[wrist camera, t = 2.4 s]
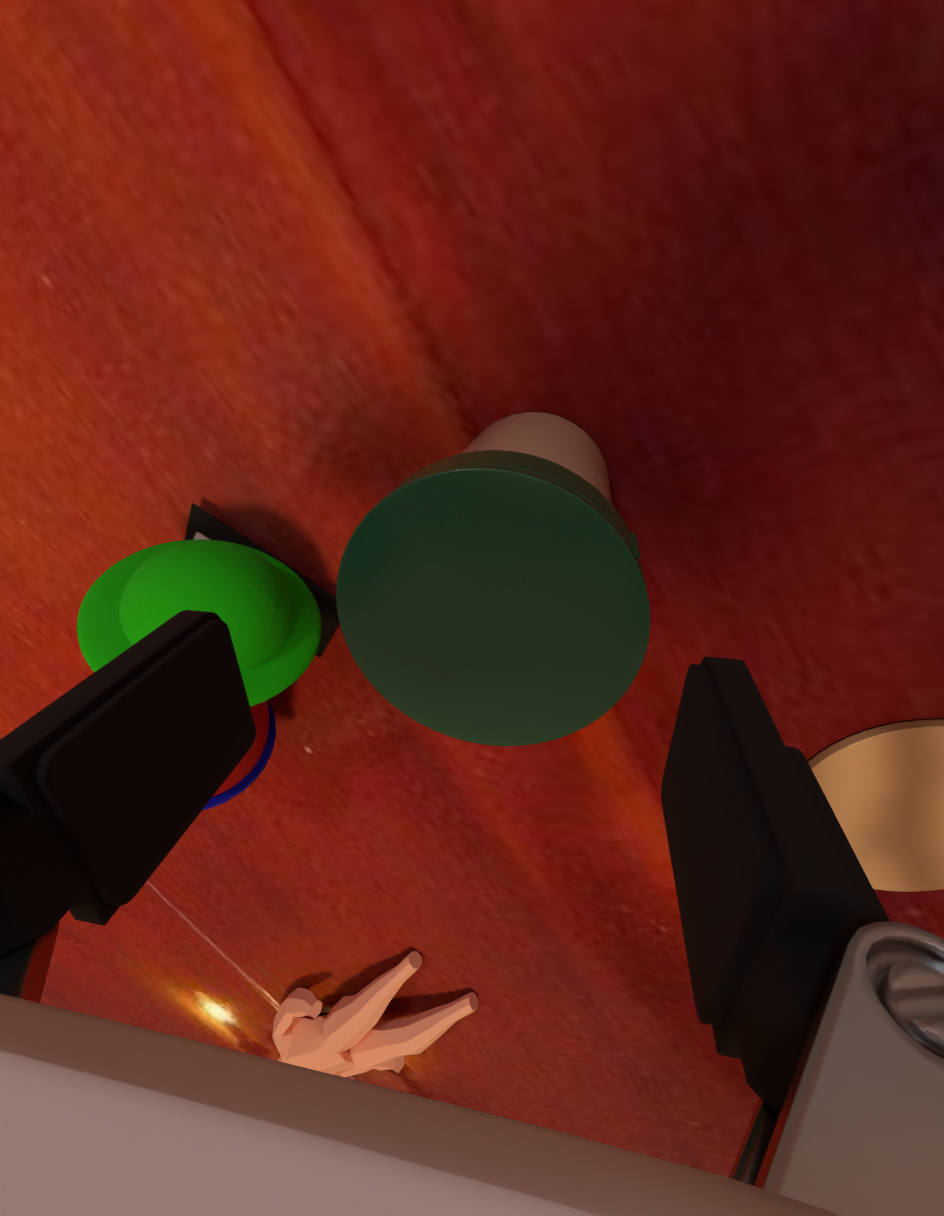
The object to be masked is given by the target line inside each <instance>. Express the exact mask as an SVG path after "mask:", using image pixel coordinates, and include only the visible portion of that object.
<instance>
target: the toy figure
mask: <svg viewBox="0 0 944 1216" xmlns="http://www.w3.org/2000/svg"><path fill="white" fill-rule="evenodd" d="M183 610H193V611H204V612H214V613H216V614H217V615H218V616H219V617H220V618H221V620H222V621H224V622H225V623H226V624H227V625H228V628H229V631H230V635H231V638H232V642H233V646H234V649H235V653H236V657H237V660H238V664H239V668H240V671H241V675H242V679H243V682H244V686H245V690H246V693H247V697H248V701H249V704H250V708H251V712H252V715H253V719H254V722H255V726H256V737H255V741H254V743H253V745H252V747H251V748H250V750H249V751H248V752H247V753H246V755H245V756H244V757H243V758H242V760H241V761H240V762H239V764H238V765H237V766H236V767H235V769H234V770H233V771H232V773H231V774H230V775H229V776H228V778H227V779H226V780H225V781H224V783H223V784H222V785H221V787H220V788H219V789H218V790H217V792H216V793H215V794H214V796H213V797H212V798H211V799H210V801H209V802H208V803H207V804H206V806H205V807H204V808H203V810H205V809H209V808H212V807H214V806H217V805H219V804H222V803H225V802H227V801H228V800H230V799H231V798H233V797H234V796H236V795H238V794H239V793H241V792H242V791H244V790H245V789H246V788H247V787H248V786H249V785H250V784H251V783H252V782H253V781H255V780H256V779H257V777H258V776H259V775H260V773H261V772H262V771H263V769H264V768H265V766H266V764H267V762H268V760H269V758H270V756H271V753H272V750H273V746H274V741H275V737H276V727H275V717H274V714H273V711H272V708H271V706H270V704H269V702H268V701H267V700H268V699H270V698H272V697H274V696H275V695H277V694H279V693H281V692H282V691H283V690H285V689H286V688H287V687H289V686H290V685H291V684H293V683H294V682H295V681H296V680H297V679H298V678H299V677H300V676H301V675H302V674H303V672H304V671H305V670H306V669H307V667H308V666H309V664H310V663H311V661H312V660H313V658H314V656H315V655H317V656H319V657H321V655H322V653H323V652H324V650H325V648H326V646H327V645H328V643H329V641H330V639H331V638H332V636H333V634H334V632H335V631H336V629H337V627H338V625H339V624H340V621H339V617H338V610H337V599H336V597H335V596H334V595H332V594H331V593H329V592H328V591H326V590H325V589H323V588H322V587H320V586H319V585H317V584H316V583H314V582H312V581H311V580H309V579H308V578H306V577H305V576H303V575H302V574H300V573H299V572H297V571H296V570H294V569H293V568H291V567H290V566H288V565H287V564H285V563H283V562H282V561H280V560H279V559H277V558H276V557H274V556H273V555H271V554H270V553H268V552H267V551H265V550H264V549H262V548H261V547H259V546H257V545H256V544H254V543H253V542H251V541H250V540H248V539H247V538H245V537H244V536H242V535H241V534H239V533H238V532H236V531H235V530H233V529H231V528H230V527H228V526H227V525H225V524H224V523H222V522H221V521H219V520H218V519H216V518H215V517H213V516H212V515H210V514H209V513H207V512H205V511H204V510H202V509H201V508H199V507H198V506H196V505H195V504H193V503H192V506H191V511H190V516H189V521H188V526H187V531H186V536H185V540H181V541H174V542H168V543H163V544H159V545H155V546H152V547H149V548H146V549H143V550H140V551H138V552H136V553H134V554H132V555H130V556H127V557H126V558H124V559H122V560H121V561H119V562H117V563H116V564H114V565H113V566H112V567H110V568H109V569H108V570H106V571H105V572H104V573H103V574H102V575H101V576H100V577H99V578H98V579H97V580H96V581H95V582H94V584H93V585H92V586H91V588H90V589H89V591H88V592H87V594H86V595H85V597H84V599H83V602H82V604H81V607H80V610H79V614H78V620H77V635H78V641H79V645H80V648H81V651H82V653H83V656H84V657H85V659H86V661H87V663H88V664H89V666H90V667H91V669H92V670H93V671H94V672H96V671H97V670H99V669H100V668H102V667H103V666H104V665H106V664H107V663H109V662H110V661H111V660H113V659H114V658H116V657H117V656H118V655H120V654H121V653H123V652H124V651H125V650H127V649H128V648H130V647H131V646H132V645H134V644H135V643H137V642H138V641H139V640H141V639H142V638H144V637H145V636H146V635H148V634H149V633H151V632H152V631H153V630H155V629H156V628H158V627H159V626H160V625H162V624H163V623H165V622H166V621H167V620H169V619H170V618H172V617H173V616H174V615H176V614H177V613H179V612H181V611H183Z"/></svg>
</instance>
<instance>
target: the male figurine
mask: <svg viewBox="0 0 944 1216" xmlns="http://www.w3.org/2000/svg"><path fill="white" fill-rule="evenodd" d="M421 964H422V959H421V956H420V954H419V953H418V952H417V951H412V952H411V953H409V954H408V955H407V956H406V957H405V958H404V959H403V960H402V961H401V962H400V963H399V964H398V965H397V966H395V967H394V968H392V969H390V970H389V971H387V972H385V973H384V974H382V975H380V976H379V977H378V978H376V979H375V980H374V981H372V982H371V983H370V984H368V985H367V986H366V987H365V988H363V989H362V990H361V991H360V992H358V993H357V994H356V995H349V996H344V997H343V998H342V999H341V1000H340V1001H338V1002H337V1003H336V1004H335V1005H334V1006H333V1007H332V1009H331V1011H330V1013H329V1014H328V1015H323V1016H319V1017H317V1016H318V1015H319V1014H320V1013H321V1010H322V1001H321V1000H320V998H319V996H318V995H316V994H315V993H313V992H311V991H309V990H307V989H306V988H297V989H296V990H294V991H293V992H291V993H290V994H289V995H288V996H287V998H286V999H285V1000H284V1001H283V1002H282V1004H281V1006H280V1008H279V1010H278V1012H277V1014H276V1016H275V1018H274V1024H273V1035H272V1037H273V1039H274V1042H275V1045H276V1047H277V1049H278V1051H279V1053H280V1055H281V1056H280V1058H279V1059H278V1061H280V1062H284V1063H288V1064H292V1065H296V1066H300V1067H304V1068H308V1069H312V1070H316V1071H320V1072H324V1073H328V1074H332V1075H336V1076H337V1075H339V1076H342V1077H348V1076H352V1075H356V1074H360V1073H364V1072H366V1071H369V1070H371V1069H377V1070H381V1071H383V1070H388V1069H392V1070H394V1071H395V1072H397V1073H399V1071H400V1070H401V1069H402V1067H403V1065H404V1059H405V1057H404V1055H414V1054H420V1053H421V1052H423V1051H424V1050H425V1049H426V1048H427V1047H428V1046H430V1045H431V1044H432V1043H433V1042H434V1041H435V1040H437V1039H438V1038H439V1037H440V1036H441V1035H442V1034H443V1033H444V1032H445V1031H446V1030H447V1029H449V1028H450V1027H451V1026H452V1025H453V1024H454V1023H455V1022H456V1021H457V1020H459V1019H461V1018H463V1017H465V1016H467V1015H469V1014H470V1013H472V1012H474V1011H476V1009H477V1007H478V999H477V997H476V995H475V993H473V992H470V993H468V994H466V995H464V996H463V997H461V998H459V999H457V1000H455V1001H453V1002H451V1003H448V1004H445V1005H442V1006H439V1007H436V1008H433V1009H430V1010H427V1011H425V1012H422V1013H419V1014H417V1015H414V1016H411V1017H409V1018H402V1019H396V1020H395V1019H394V1018H392V1017H390V1016H389V1015H387V1014H386V1013H383V1012H384V1011H385V1009H386V1007H387V1006H388V1004H389V1002H390V1001H391V999H392V998H393V997H394V995H395V994H396V992H397V991H398V990H399V988H400V987H401V986H402V984H403V983H404V982H405V981H406V980H407V979H408V978H409V977H410V976H411V975H412V974H413V973H414V972H415V971H416V970H417V969H418V968H419V967H420V966H421ZM307 1015H309V1016H307Z"/></svg>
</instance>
